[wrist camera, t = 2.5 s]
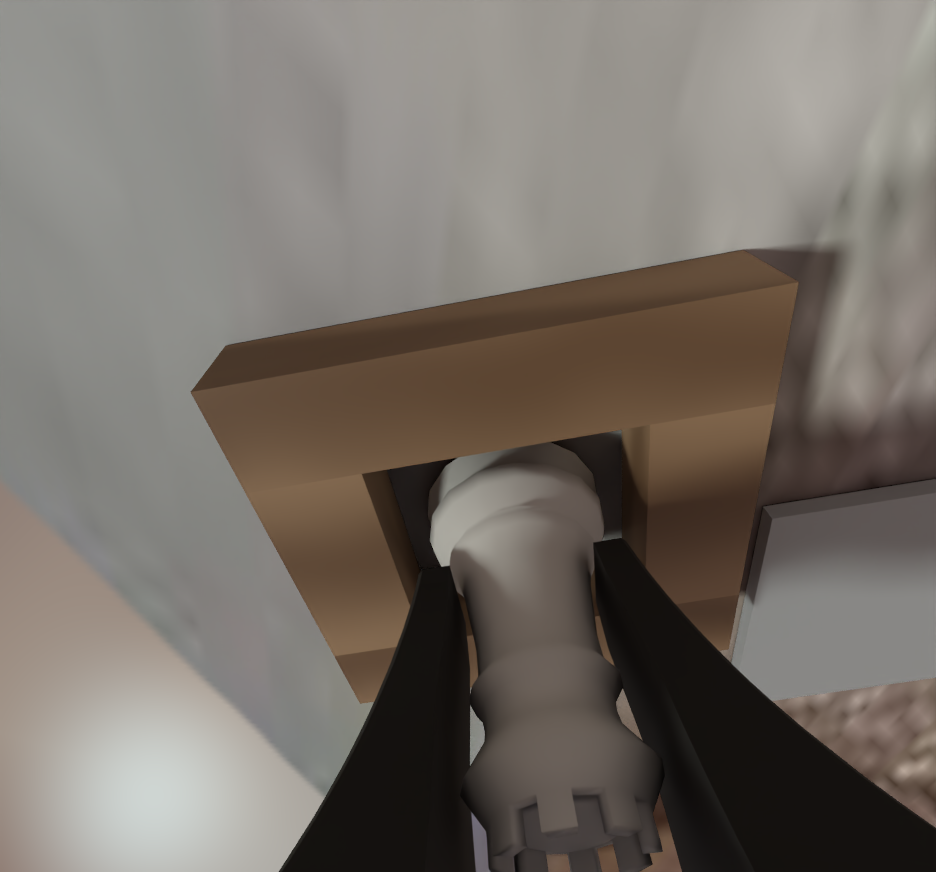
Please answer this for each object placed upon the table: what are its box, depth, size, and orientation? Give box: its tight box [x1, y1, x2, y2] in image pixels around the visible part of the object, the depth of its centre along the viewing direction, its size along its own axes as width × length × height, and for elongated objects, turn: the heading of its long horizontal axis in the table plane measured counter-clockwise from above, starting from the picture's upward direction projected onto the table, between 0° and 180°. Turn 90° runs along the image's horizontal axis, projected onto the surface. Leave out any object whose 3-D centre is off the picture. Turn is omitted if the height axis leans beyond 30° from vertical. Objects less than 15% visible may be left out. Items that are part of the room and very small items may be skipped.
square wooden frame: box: [191, 250, 799, 704], centre depth 13 cm, size 11×11×2 cm
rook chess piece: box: [427, 442, 665, 872], centre depth 11 cm, size 4×4×8 cm
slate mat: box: [731, 479, 936, 701], centre depth 17 cm, size 10×10×1 cm
